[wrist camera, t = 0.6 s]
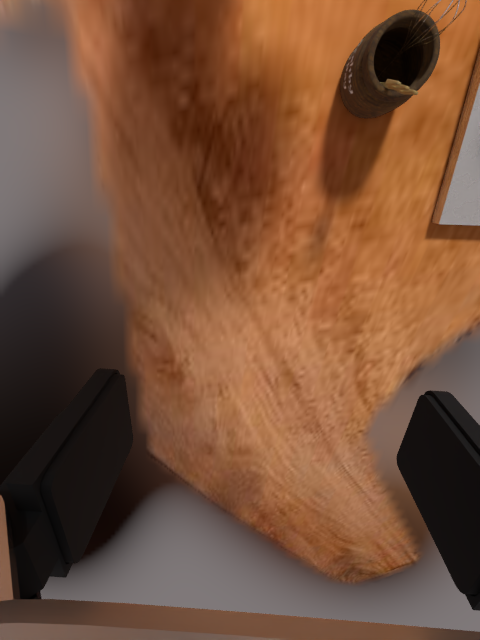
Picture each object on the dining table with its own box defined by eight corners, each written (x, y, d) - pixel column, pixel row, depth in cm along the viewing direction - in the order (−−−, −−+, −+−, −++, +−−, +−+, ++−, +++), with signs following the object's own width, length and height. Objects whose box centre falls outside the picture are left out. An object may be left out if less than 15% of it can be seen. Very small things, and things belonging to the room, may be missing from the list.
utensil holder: (418, 59, 28) (524, -17, 17) (377, 134, 30) (446, 111, 19) (361, 26, 27) (433, -76, 16) (324, 106, 29) (365, 65, 18)
